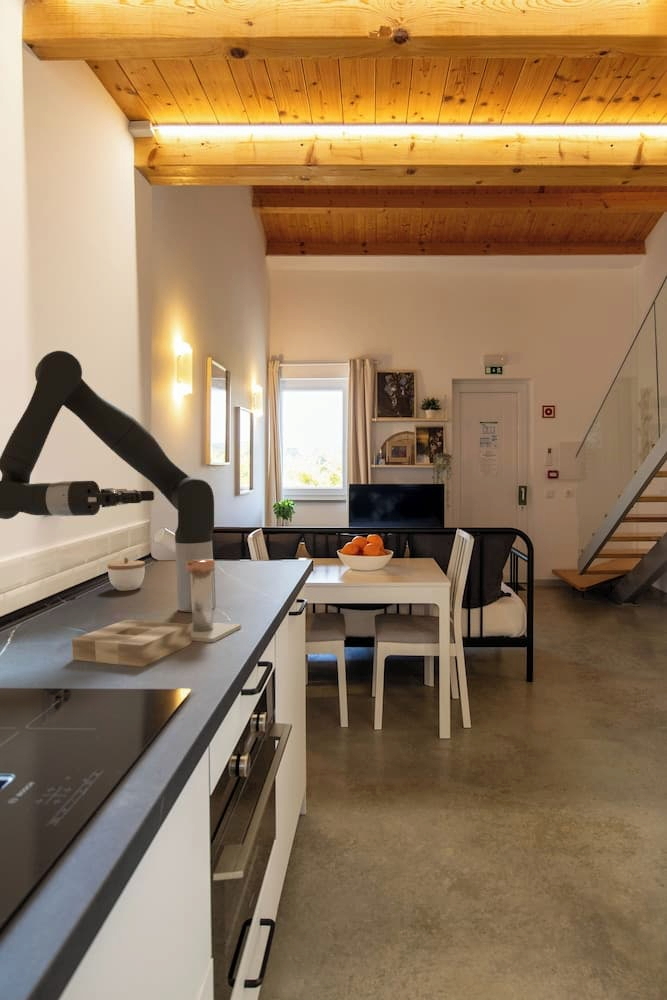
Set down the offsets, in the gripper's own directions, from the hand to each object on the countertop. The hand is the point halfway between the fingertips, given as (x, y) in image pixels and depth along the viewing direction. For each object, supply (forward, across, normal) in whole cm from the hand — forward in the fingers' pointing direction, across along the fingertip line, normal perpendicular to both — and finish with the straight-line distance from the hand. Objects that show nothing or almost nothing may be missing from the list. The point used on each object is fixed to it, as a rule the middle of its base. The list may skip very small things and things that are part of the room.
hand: (147, 496), depth 142 cm
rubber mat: (+11, 0, +30) cm, 32 cm away
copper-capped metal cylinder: (+11, 0, +29) cm, 31 cm away
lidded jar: (-25, +54, +30) cm, 67 cm away
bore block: (0, -13, +30) cm, 33 cm away
